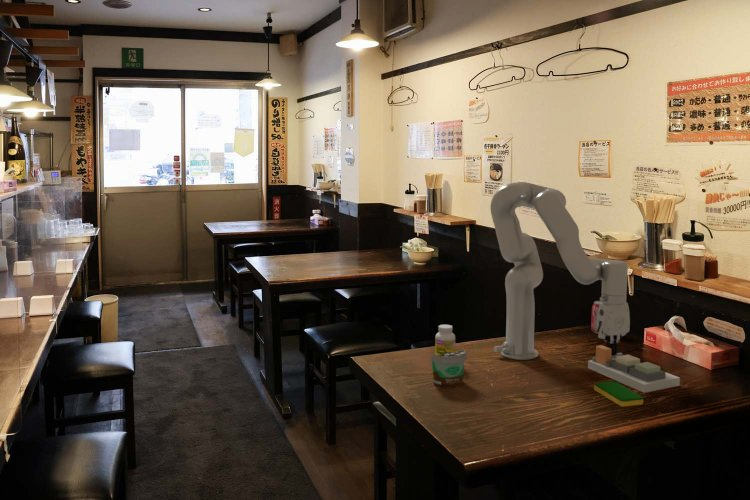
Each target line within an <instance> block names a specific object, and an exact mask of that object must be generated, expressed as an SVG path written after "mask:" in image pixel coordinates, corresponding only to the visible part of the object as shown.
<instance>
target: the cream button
mask: <svg viewBox="0 0 750 500" xmlns="http://www.w3.org/2000/svg"><path fill="white" fill-rule="evenodd" d="M616 362H618V363H621V364H623V365H626V366H631V365H635V364H638V363H640V362H641V359H640V358H638V357H635V356H633V355H631V354H623V355H622V356H616Z"/></svg>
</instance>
